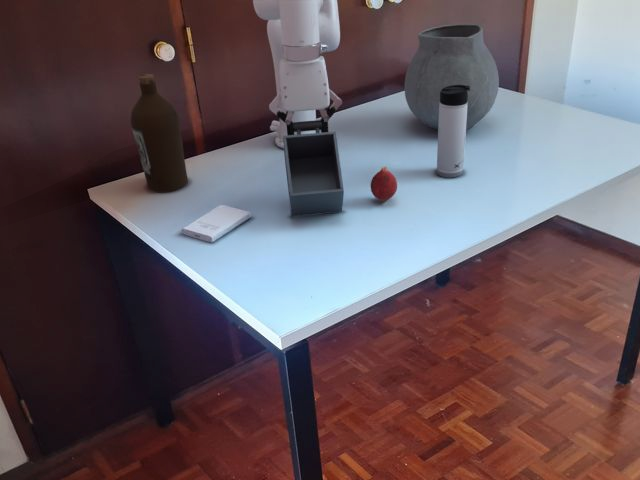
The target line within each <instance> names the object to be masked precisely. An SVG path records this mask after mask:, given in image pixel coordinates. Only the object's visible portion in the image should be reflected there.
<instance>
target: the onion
mask: <svg viewBox="0 0 640 480" xmlns="http://www.w3.org/2000/svg"><path fill="white" fill-rule="evenodd" d="M397 189H398V182H397V178H396V177H395V175H394V174H393V173H392V172H390V171H389V170H388V169H387V166H384V165H383V166H381V169H380V170H379V171H377V172H376V173H375V174H374V175H373V176H372V178H371V181H370V191H371V194H372V195H373V196H374V197H375V198H376V199H377V200H378V201H380V202H383V203H386V202H387V201H388V200H390V199H391V198H392V197H394V195H396V192H397Z"/></svg>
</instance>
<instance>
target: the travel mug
mask: <svg viewBox="0 0 640 480" xmlns="http://www.w3.org/2000/svg"><path fill="white" fill-rule="evenodd" d="M468 89H469V91H470V86H466V85H452V86H447V87H445V88H443V89H442V90H441V91H440V102H439V104H440V105H439V126H438V129H437V153H436V154H437V155H436V174H437V175H438V176H440V177H442V178H450V179H452V178H459V177H461V176H462V175H463V174H464V165H465V150H466V137H467V136H466V135H467V129H466V122H467V107H468V105H467V104H468Z"/></svg>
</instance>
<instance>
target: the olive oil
mask: <svg viewBox="0 0 640 480" xmlns="http://www.w3.org/2000/svg"><path fill="white" fill-rule="evenodd" d="M138 80H139V83H138V84H139V87H140V93H141V94H140V97H138V100H137V101H136V102H135V104H134V105H133V107H132V109H131V112H130V126H131V130H132V134H133V138H134V140H135V145H136V147H137V152H138V155H139V158H140V162H141V165H142V169H143V170H142V171H143V173H144V177H145V181H146V185H147V188H148V189H149V190H150V191H152V192H155V193H169V192H174V191H178V190H180V189H183V188H184V187H186V186H187V185H188V184H189V183H188V182H189V179H188V174H187V173H188V172H187V166H186V161H185V152H184V145H183V139H182V129H181V122H180V116H179V114H178V111H177V109H176V108H175V106H174V105H173V103H171V102H170V101H169V100H167V99H166V98H165V97H164V96H162V95H161V94H160V93H159V92H158V90H157V84H156V81H155V76H154V74H153V73H142V74H139V76H138Z"/></svg>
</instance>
